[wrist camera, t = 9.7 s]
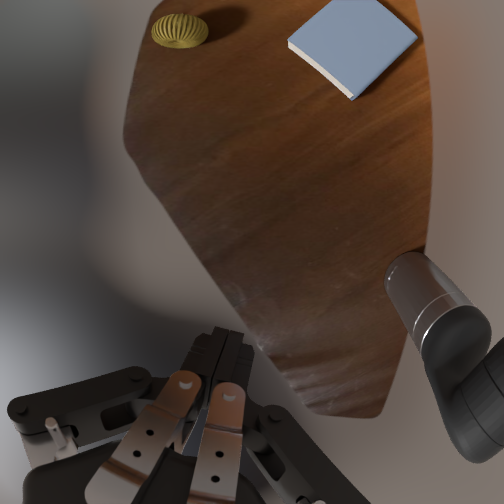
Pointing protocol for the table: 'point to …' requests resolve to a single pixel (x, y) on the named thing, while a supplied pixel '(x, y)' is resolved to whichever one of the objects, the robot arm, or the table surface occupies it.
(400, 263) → the robot arm
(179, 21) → the sculpture
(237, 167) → the table surface
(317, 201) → the table surface
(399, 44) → the book
